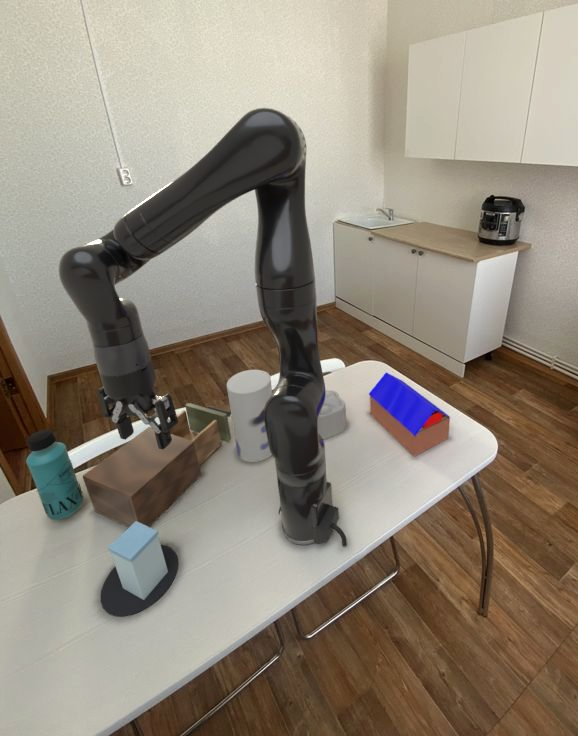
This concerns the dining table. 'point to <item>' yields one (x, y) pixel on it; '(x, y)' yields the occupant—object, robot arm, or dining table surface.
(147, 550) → the canister
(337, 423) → the lumpy-topped squat cylinder
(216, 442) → the drawer
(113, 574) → the mat
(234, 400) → the container
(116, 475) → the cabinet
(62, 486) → the beverage bottle
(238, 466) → the dining table surface
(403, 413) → the house
